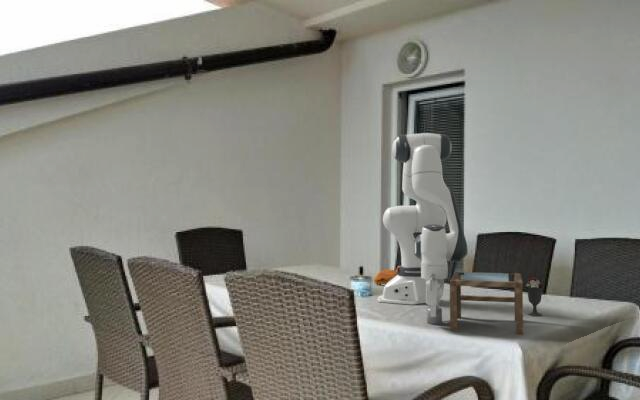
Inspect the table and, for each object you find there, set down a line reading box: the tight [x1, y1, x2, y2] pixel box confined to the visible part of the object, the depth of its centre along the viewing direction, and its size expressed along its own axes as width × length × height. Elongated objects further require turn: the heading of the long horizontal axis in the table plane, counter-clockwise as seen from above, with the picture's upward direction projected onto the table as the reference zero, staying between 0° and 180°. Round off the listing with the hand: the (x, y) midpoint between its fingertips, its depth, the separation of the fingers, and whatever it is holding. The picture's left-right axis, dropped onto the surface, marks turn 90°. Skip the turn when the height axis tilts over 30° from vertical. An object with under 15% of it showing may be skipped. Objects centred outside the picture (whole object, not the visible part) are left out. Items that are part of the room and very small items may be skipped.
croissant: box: [373, 269, 398, 285], centre depth 289 cm, size 14×16×8 cm
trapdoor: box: [462, 271, 510, 281], centre depth 197 cm, size 14×18×2 cm
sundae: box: [524, 272, 545, 317], centre depth 212 cm, size 7×7×15 cm
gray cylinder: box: [426, 306, 443, 326], centre depth 201 cm, size 5×5×5 cm
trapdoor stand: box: [449, 271, 524, 335], centre depth 196 cm, size 22×22×16 cm
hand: (434, 314), depth 200 cm, fingers open, 8 cm apart
